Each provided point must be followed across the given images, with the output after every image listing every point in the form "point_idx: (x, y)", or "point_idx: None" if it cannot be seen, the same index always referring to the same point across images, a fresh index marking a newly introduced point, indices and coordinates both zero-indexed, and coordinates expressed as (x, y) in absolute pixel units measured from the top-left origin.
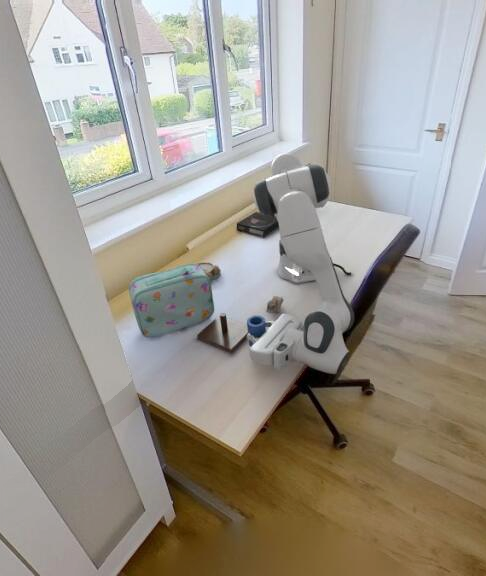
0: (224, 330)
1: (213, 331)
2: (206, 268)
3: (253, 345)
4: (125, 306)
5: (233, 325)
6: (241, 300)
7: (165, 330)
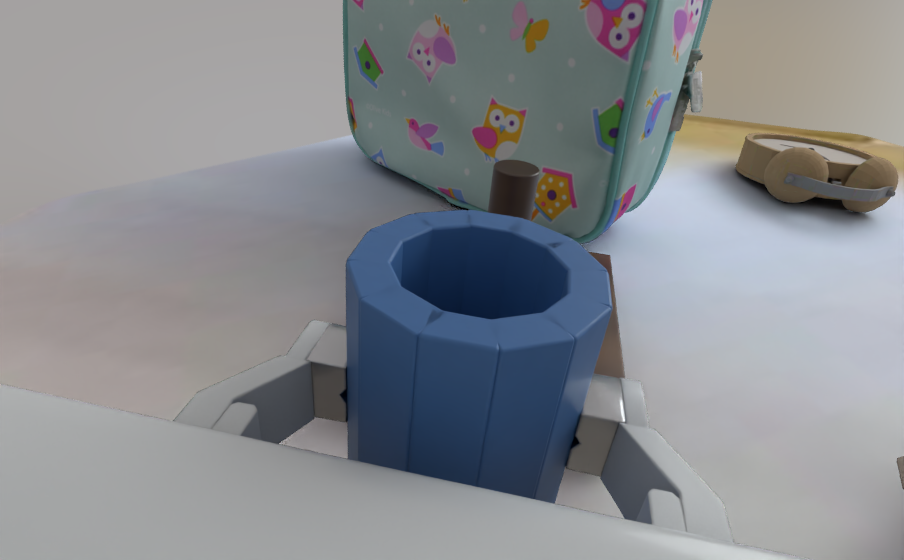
0: None
1: None
2: (839, 160)
3: (2, 395)
4: None
5: None
6: (829, 320)
7: (396, 152)
